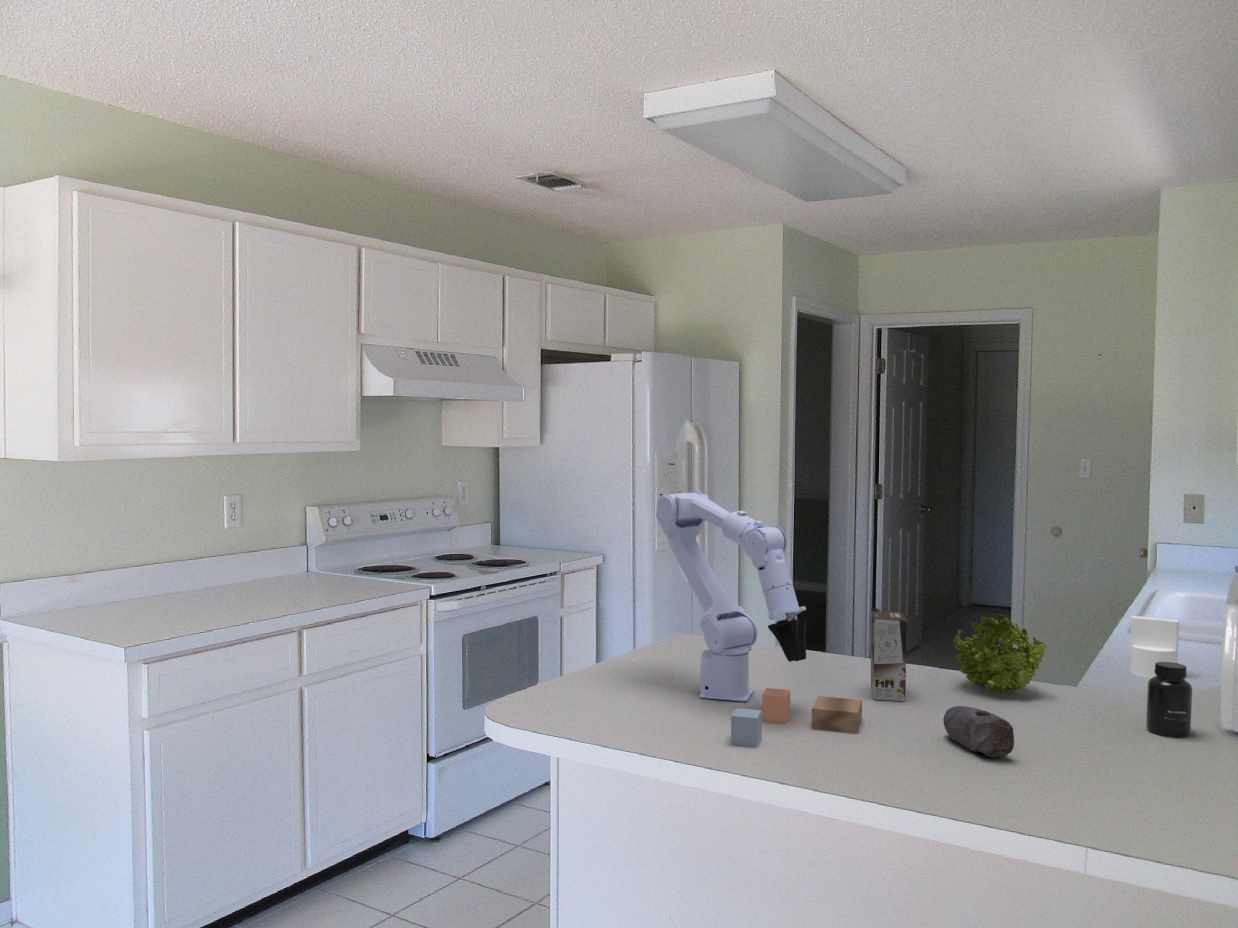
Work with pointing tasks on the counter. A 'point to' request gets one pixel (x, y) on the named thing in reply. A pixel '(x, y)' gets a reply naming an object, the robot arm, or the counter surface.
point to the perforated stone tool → (979, 731)
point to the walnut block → (837, 714)
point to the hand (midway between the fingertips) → (797, 660)
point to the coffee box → (888, 655)
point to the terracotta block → (776, 705)
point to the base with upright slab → (1152, 644)
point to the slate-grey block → (746, 727)
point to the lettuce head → (999, 655)
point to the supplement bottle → (1169, 701)
